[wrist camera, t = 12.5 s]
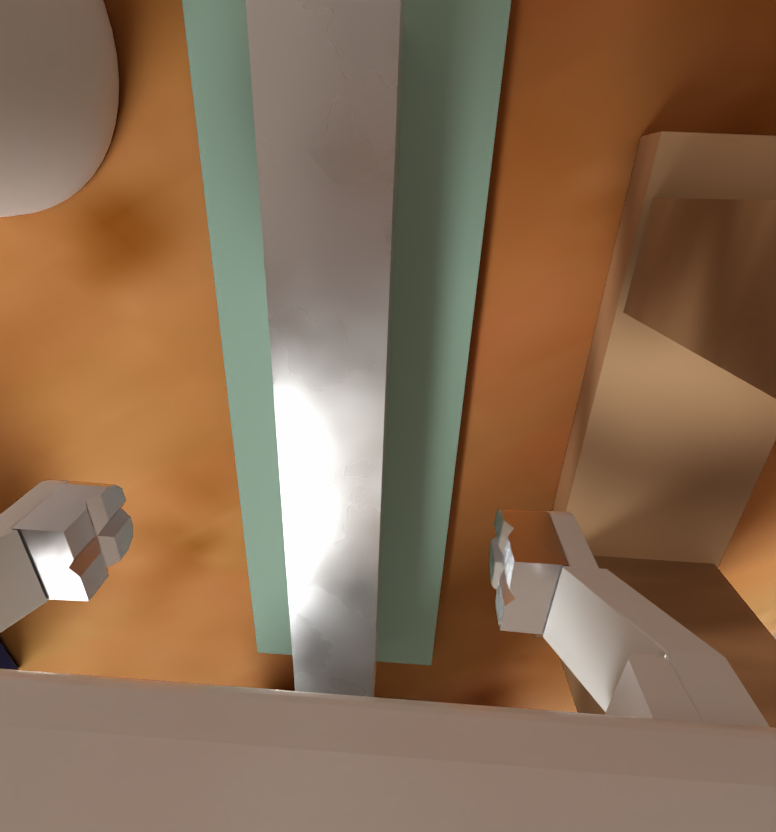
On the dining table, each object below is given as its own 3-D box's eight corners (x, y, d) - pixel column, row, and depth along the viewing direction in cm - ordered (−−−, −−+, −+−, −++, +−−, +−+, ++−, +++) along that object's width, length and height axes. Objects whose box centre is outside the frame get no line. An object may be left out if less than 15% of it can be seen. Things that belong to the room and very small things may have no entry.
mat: (189, -22, 12) (178, -33, 11) (509, -12, 12) (513, -22, 11) (261, 641, 22) (257, 652, 22) (431, 653, 22) (431, 665, 21)
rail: (283, 23, 12) (243, -29, 9) (404, 27, 11) (401, -24, 9) (311, 641, 21) (296, 707, 18) (377, 646, 21) (372, 713, 18)
